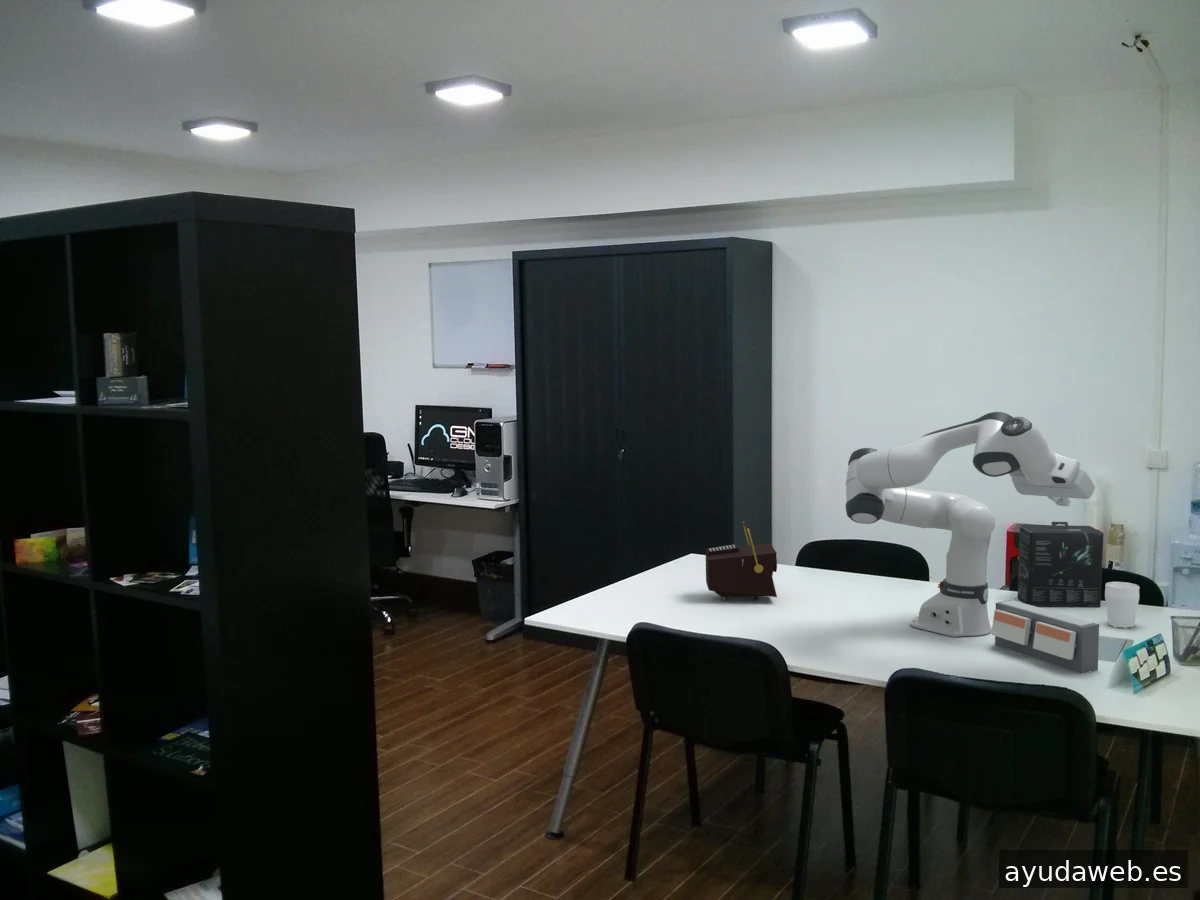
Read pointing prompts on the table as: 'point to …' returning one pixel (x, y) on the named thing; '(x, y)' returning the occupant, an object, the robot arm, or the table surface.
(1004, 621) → the block
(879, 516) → the robot arm
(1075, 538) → the headset box
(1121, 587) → the cup
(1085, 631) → the switch block
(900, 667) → the table surface
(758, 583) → the dark brown boxy piece
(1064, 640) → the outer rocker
